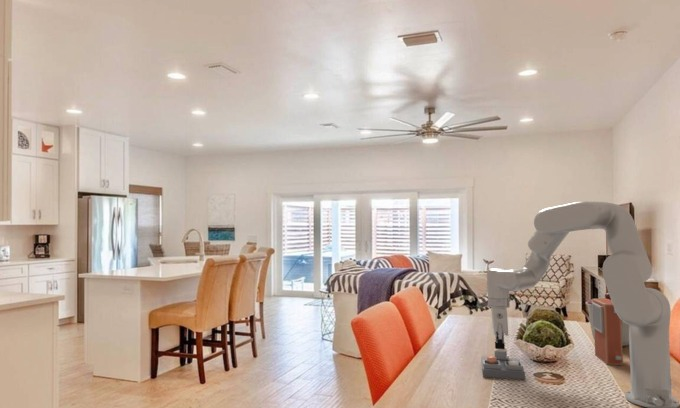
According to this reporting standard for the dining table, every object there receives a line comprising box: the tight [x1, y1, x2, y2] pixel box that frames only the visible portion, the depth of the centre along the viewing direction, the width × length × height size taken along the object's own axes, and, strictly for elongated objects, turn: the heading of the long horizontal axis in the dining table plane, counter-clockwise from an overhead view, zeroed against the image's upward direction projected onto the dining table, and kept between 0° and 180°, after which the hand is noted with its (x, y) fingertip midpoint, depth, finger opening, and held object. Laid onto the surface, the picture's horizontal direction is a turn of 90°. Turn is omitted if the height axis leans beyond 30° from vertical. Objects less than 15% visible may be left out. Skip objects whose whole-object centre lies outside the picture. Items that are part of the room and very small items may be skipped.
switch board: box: [481, 354, 526, 381], centre depth 160 cm, size 15×13×4 cm
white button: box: [508, 360, 519, 366], centre depth 156 cm, size 3×3×2 cm
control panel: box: [592, 298, 624, 366], centre depth 172 cm, size 21×7×15 cm
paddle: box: [493, 348, 508, 360], centre depth 166 cm, size 2×4×3 cm, turn 75°
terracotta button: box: [486, 355, 497, 363], centre depth 158 cm, size 3×3×2 cm
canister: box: [585, 292, 630, 347], centre depth 195 cm, size 18×18×21 cm
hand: (500, 353), depth 169 cm, fingers closed
